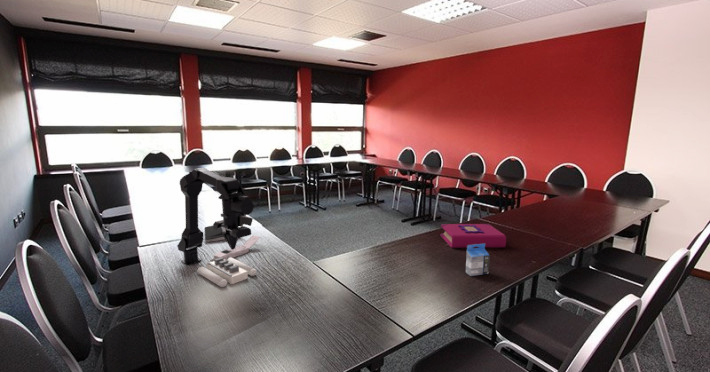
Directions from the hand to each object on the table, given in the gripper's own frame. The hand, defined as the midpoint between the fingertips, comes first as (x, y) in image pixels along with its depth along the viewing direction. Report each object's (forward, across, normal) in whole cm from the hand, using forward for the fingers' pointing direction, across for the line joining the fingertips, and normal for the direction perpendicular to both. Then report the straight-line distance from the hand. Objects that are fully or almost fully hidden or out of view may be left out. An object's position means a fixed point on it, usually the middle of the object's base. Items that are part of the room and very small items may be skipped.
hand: (233, 249), depth 133 cm
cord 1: (+13, +6, +6) cm, 15 cm away
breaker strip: (+12, +6, 0) cm, 14 cm away
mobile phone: (+13, +23, -14) cm, 30 cm away
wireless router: (+12, +54, -26) cm, 62 cm away
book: (+14, -54, -108) cm, 121 cm away
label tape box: (+13, -72, -70) cm, 101 cm away
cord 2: (+13, +6, -6) cm, 16 cm away
